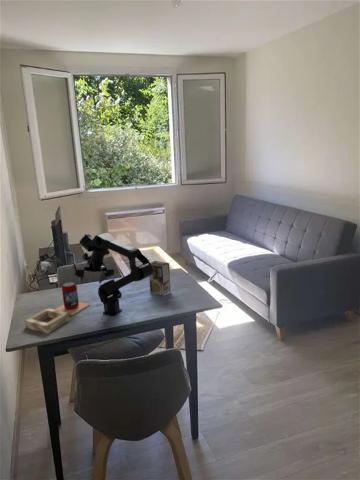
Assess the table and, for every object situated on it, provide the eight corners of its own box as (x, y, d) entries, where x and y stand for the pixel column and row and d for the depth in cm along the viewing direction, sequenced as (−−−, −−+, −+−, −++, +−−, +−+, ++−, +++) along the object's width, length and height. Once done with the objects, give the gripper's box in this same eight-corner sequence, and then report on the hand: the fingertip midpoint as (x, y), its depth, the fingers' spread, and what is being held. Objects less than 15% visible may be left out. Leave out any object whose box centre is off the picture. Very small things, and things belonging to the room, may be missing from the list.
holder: (69, 319, 161) (68, 312, 160) (47, 333, 150) (46, 326, 149) (48, 314, 166) (47, 307, 165) (25, 327, 155) (24, 320, 154)
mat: (89, 305, 175) (89, 304, 175) (72, 315, 164) (72, 314, 164) (71, 301, 180) (70, 300, 180) (53, 311, 170) (53, 310, 169)
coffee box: (171, 292, 187) (169, 262, 182) (164, 296, 181) (162, 266, 177) (157, 289, 191) (155, 260, 187) (149, 293, 186) (147, 263, 182)
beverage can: (68, 311, 167) (65, 287, 164) (61, 307, 172) (58, 284, 169) (81, 306, 172) (78, 283, 169) (74, 302, 177) (71, 280, 173)
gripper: (111, 247, 174) (104, 271, 181) (73, 246, 164) (66, 272, 171) (118, 261, 166) (110, 286, 174) (78, 261, 156) (71, 288, 164)
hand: (90, 283), depth 171 cm, fingers open, 9 cm apart
